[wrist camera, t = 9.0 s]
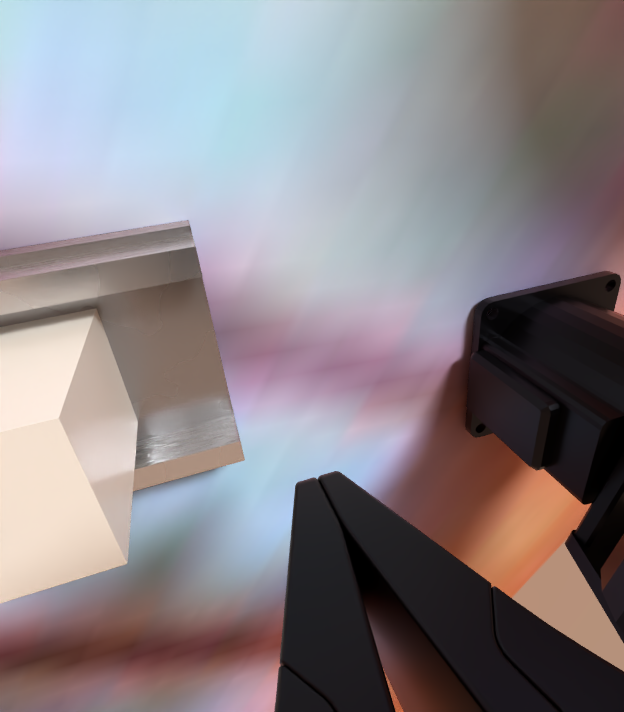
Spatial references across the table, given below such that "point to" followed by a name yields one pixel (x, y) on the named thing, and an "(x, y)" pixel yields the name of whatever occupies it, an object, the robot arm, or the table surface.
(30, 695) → the table surface
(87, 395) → the block
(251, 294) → the table surface
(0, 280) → the rail
